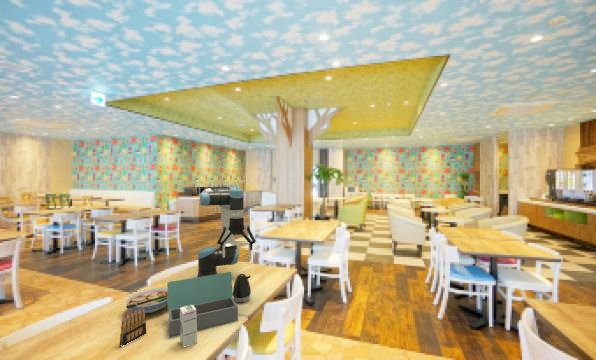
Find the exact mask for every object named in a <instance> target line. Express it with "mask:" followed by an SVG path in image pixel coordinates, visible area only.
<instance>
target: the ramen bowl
mask: <svg viewBox="0 0 596 360" xmlns="http://www.w3.org/2000/svg"><path fill="white" fill-rule="evenodd" d="M125 304H126V306H125V308H127V309H126V310H129V309H130V310H131V311H133V312H135V311H136V312H137V314H138V311H139V309H140V311H141V313H142V308H144V312H145V314H152V313H155V312H157V311H158V310H162V309H163V308H165V307H166V306H168V288H167V287H166V288H165V287H156V288H149V289H145V290H142V291H139V292H135V293H134V294H132V295H130V296H128V298H127V299H126V300H125Z"/></svg>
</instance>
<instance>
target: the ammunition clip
mask: <svg viewBox="0 0 596 360" xmlns="http://www.w3.org/2000/svg"><path fill="white" fill-rule="evenodd" d="M145 315H146V313H145V312H144V308H142V313H141V311H140V309H139V311H138V313H137V312H136V311H134V314H133V312H131V313H130V316H129V314H127V315H126V318H125V316H122V318H121V327H120V333H119V334H120V337H119V339H120V340H119V346H120V345H122V346H123V345H126V344H127V343H129V342H131V341H133V340H135V339H136V340H138V339H140V338H141V337H140V336H142V335H143V336H145V335H146V334H147V322H146V316H145ZM144 334H145V335H144ZM143 336H142V337H143ZM139 337H140V338H139ZM137 338H138V339H137ZM136 340H135V341H136ZM133 342H134V341H133ZM131 343H132V342H131ZM129 344H130V343H129ZM126 346H127V345H126Z"/></svg>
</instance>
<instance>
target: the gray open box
mask: <svg viewBox="0 0 596 360" xmlns="http://www.w3.org/2000/svg"><path fill="white" fill-rule="evenodd" d="M194 307H195V308H196V317H197V332H198V331H202V330H206V329H209V328H214V327H218V326H223V325H226V324H229V323H234V322H238V321H239V306H238V304H237V302H236V301H235V299H234V297H230V298H225V299H220V300H215V301H210V302H205V303H201V304H196V305H194ZM181 308H182V307H181ZM168 326H169V327H168V329H169V338H170V337H171V338H174V336H175V337H178V336H179V337H180V308H177V309H172V310H168Z"/></svg>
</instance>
